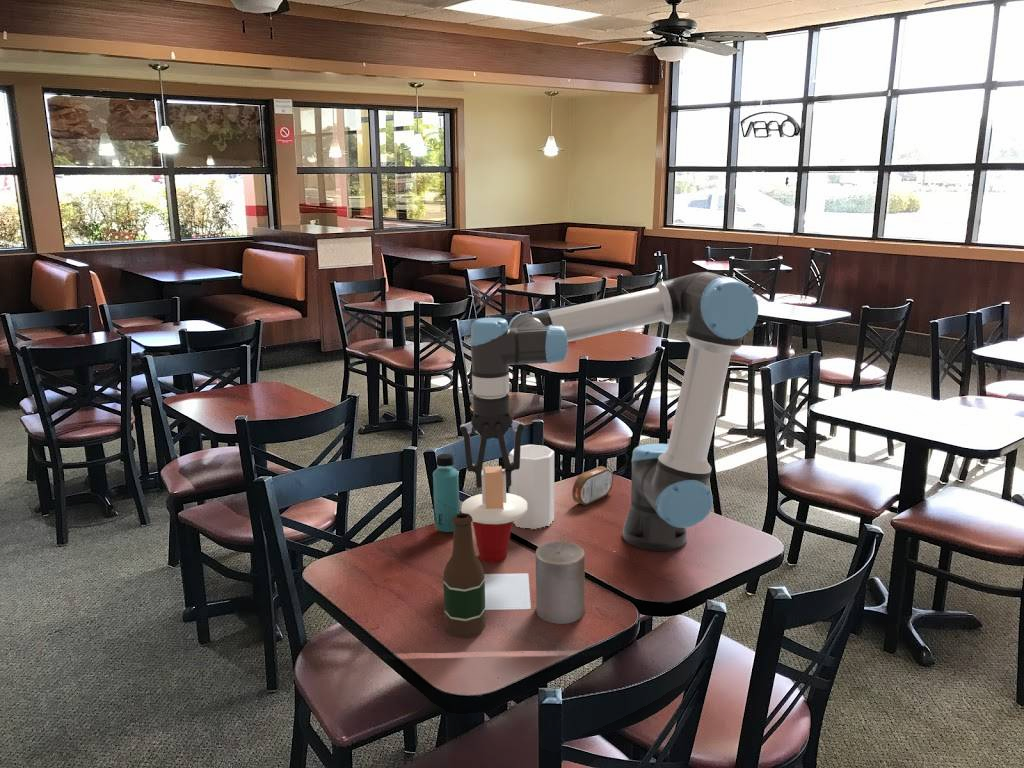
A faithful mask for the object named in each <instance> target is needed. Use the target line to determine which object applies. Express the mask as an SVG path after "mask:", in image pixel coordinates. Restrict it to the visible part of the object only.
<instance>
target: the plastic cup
mask: <svg viewBox="0 0 1024 768" xmlns="http://www.w3.org/2000/svg"><path fill="white" fill-rule="evenodd" d="M513 523H514V521H512V522H508V523H502V524H482V523H477V522H473V521H472V526H473V530H474V536H475V540H476V545H477V546H476V547H477V550H478V555H479V559H480V560H481V561H483V562H486V563H501V562H502V561H504V560H506V558H507V555H508V549H509V545H510V538H511V533H512V527H513V525H514V524H513Z"/></svg>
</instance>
